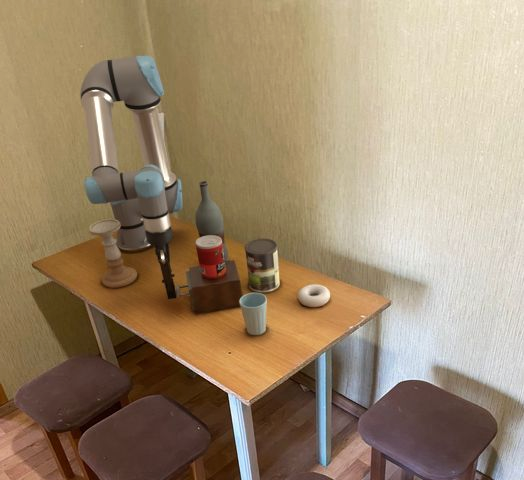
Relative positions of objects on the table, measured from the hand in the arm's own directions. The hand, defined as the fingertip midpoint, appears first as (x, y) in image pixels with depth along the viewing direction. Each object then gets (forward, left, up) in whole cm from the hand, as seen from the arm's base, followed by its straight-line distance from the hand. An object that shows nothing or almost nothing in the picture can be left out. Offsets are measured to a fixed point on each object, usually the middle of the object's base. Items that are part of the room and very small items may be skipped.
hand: (172, 297), depth 165 cm
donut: (+10, +43, -4) cm, 44 cm away
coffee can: (-4, +30, -4) cm, 31 cm away
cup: (+20, +23, -4) cm, 31 cm away
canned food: (0, +14, +6) cm, 15 cm away
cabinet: (0, +14, -4) cm, 15 cm away
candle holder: (-24, -18, -4) cm, 30 cm away
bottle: (-22, +16, -4) cm, 28 cm away
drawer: (0, +10, -3) cm, 11 cm away
